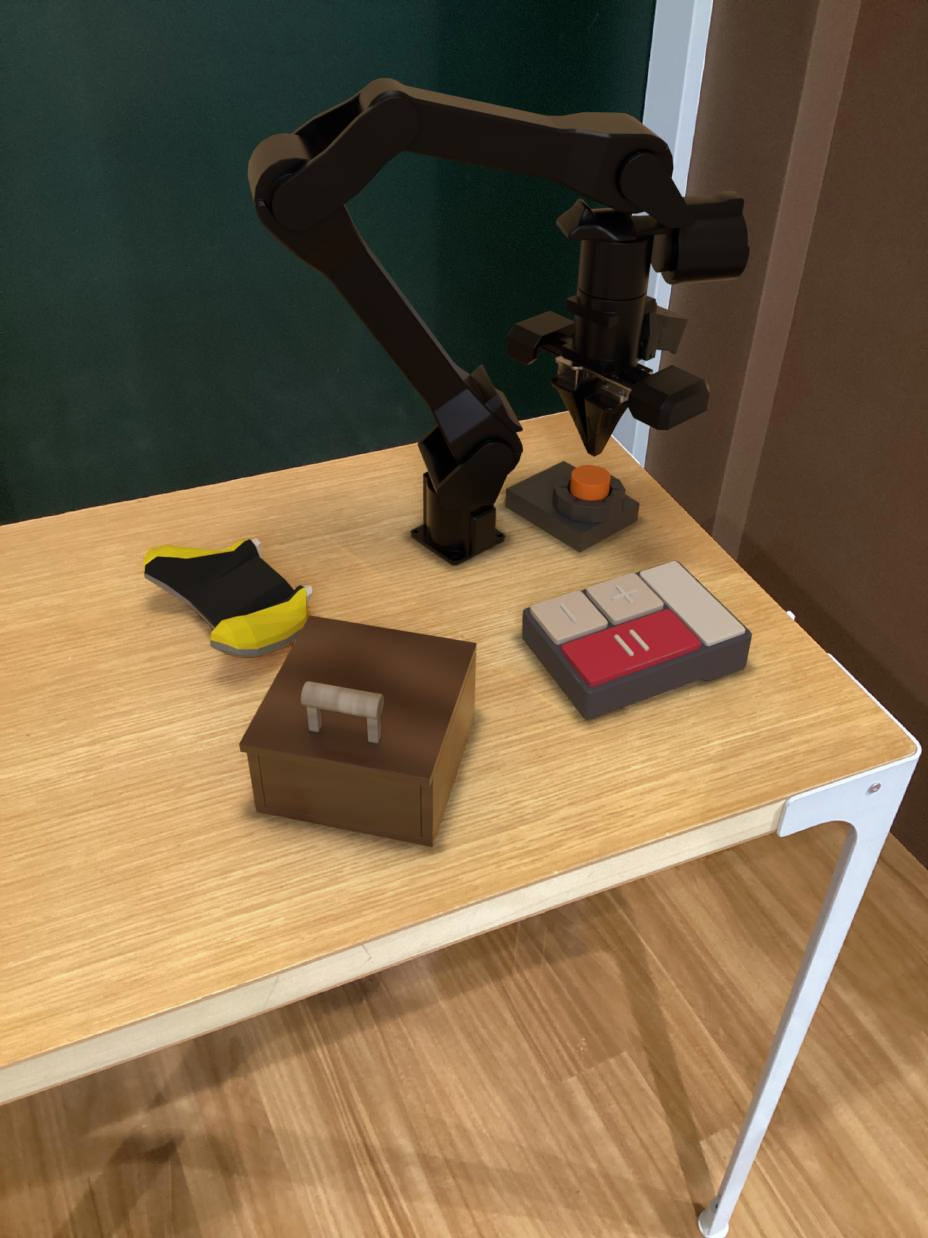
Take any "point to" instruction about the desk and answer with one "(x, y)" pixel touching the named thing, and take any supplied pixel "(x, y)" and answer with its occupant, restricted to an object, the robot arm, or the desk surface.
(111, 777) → the desk surface
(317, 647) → the lid
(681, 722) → the desk surface
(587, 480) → the button
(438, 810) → the chest
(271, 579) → the gaming controller
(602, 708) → the calculator
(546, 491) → the console
